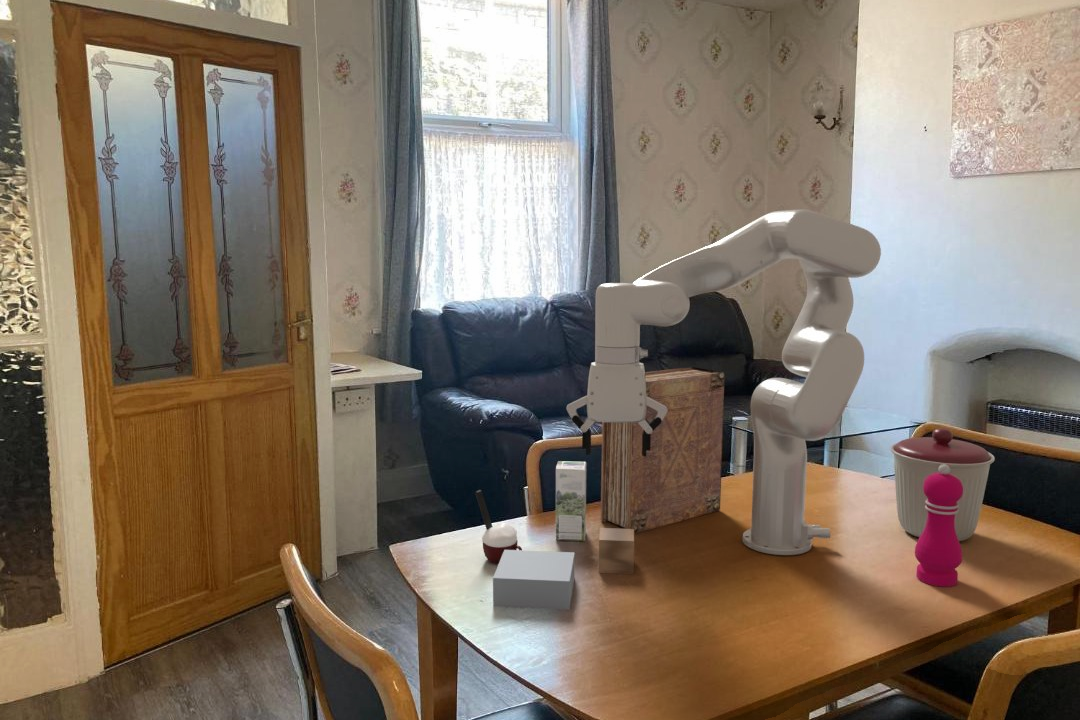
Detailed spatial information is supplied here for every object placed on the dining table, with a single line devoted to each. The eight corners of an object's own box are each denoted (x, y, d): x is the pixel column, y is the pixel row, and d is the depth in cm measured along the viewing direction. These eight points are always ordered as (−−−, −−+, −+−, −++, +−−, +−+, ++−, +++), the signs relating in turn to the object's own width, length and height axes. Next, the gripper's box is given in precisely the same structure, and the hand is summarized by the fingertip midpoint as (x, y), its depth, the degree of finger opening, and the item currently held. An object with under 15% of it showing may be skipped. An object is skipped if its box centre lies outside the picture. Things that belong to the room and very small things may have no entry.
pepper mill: (941, 591, 133) (950, 472, 130) (903, 575, 139) (911, 462, 136) (970, 583, 136) (978, 467, 133) (931, 568, 143) (939, 456, 140)
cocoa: (527, 565, 145) (530, 501, 143) (497, 572, 141) (500, 506, 139) (498, 547, 153) (501, 486, 151) (469, 553, 149) (472, 490, 147)
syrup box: (586, 531, 161) (586, 460, 159) (585, 542, 155) (585, 468, 153) (557, 530, 161) (557, 459, 159) (555, 541, 156) (555, 467, 154)
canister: (886, 542, 155) (892, 434, 152) (884, 513, 171) (890, 415, 168) (994, 556, 148) (1003, 443, 145) (981, 524, 164) (989, 422, 161)
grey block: (574, 580, 138) (574, 552, 138) (569, 611, 127) (569, 581, 126) (504, 577, 140) (504, 549, 139) (493, 608, 128) (492, 577, 127)
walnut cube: (633, 561, 146) (633, 529, 145) (633, 574, 140) (634, 541, 139) (599, 559, 147) (600, 527, 146) (598, 573, 141) (598, 539, 140)
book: (629, 534, 159) (631, 383, 155) (600, 521, 167) (601, 377, 163) (720, 510, 173) (724, 371, 169) (689, 499, 181) (693, 366, 177)
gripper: (667, 353, 141) (665, 449, 144) (568, 352, 143) (568, 447, 146) (669, 359, 134) (667, 461, 136) (564, 358, 136) (564, 458, 138)
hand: (616, 453), depth 141 cm, fingers open, 9 cm apart
